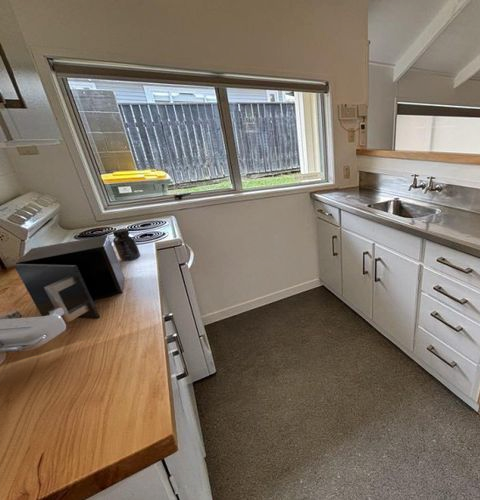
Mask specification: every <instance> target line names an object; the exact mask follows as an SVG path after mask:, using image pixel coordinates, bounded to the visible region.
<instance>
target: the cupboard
mask: <svg viewBox="0 0 480 500" xmlns="http://www.w3.org/2000/svg"><path fill="white" fill-rule="evenodd" d="M15 264H46V265H77V267H78V270H79V272H80V274H81V276H82V278H83V281H84V283H85V285H86V287H87V289H88V291H89V294H90V296H91V298H92V300H93V302H95V301H99V300H103V299H107V298H110V297H114V296H118V295H121V294H124V287H125V279H126V277H125V275H124V272H123V269H122V267H121V265H120V262H119V259H118V256H117V254H116V252H115V249H114V245H113V244H112V241H111V238H110V236H109V235H108V234H106V235H102V236H96V237H95V236H94V237H90V238H84V239H78V240H72V241H67V242H61V243H56V244H48V245H44V246H38V247H33V248H30V249H29V250H28V251H27V252H26V253H25V254H24V255H22V256H21V258H19V260H18V261H16V263H15Z"/></svg>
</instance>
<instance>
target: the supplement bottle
mask: <svg viewBox="0 0 480 500" xmlns="http://www.w3.org/2000/svg"><path fill="white" fill-rule="evenodd" d="M112 234H113V237H114V238H113V239H112V242H113V246H114V247H115V250H116V252H117V256H118V257H119V259H120V261H122V262H128V261H127V260H129V261H133V260H136V259H138V258H140V257H141V253H140V250H139V247H138V243H137V242H136V238H135V237H134V236H133V235H132V234H130V231H129V229H128V228H119V229H115V230H113V231H112ZM135 258H136V259H135ZM132 259H133V260H132Z"/></svg>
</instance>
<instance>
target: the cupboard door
mask: <svg viewBox="0 0 480 500" xmlns="http://www.w3.org/2000/svg"><path fill="white" fill-rule="evenodd" d="M13 267H14V269H15V271H16V273H17V274H18V277H19V278H20V280H21V281H22V283H23V285H24V287H25V289H26V291H27V292H28V295H29V296H30V298H31V299H32V302H33V303H34V305H35V307H36V308H37V310H38V312H39V314H40V316H46V315H50V314H49V311H50V310H53V309H54V308H62V309H63V311H64V314H63V315H62V316H61V317H62V319H63V320H64V322H65V324H67V323H70V322H72V321H73V320H75V319H78V318H79V319H93V320H94V319H95V320H97V319H101V316H100V313H99V311H98V308H97V307H96V305H95V303H94V302H95V301H93V300H92V298H91V296H90V294H89V291H88V289H87V287H86V285H85V283H84V281H83V278H82V276H81V274H80V272H79V270H78V267H77V265H46V264H16V263H15V264H13Z"/></svg>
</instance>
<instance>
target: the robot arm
mask: <svg viewBox="0 0 480 500" xmlns="http://www.w3.org/2000/svg"><path fill="white" fill-rule="evenodd" d="M49 314H50V315H46V316H41V315H40V316H29V317H28V316H27V317H22V313H21V311H19V310H12V311H9V312H7V313H5V314H3V315H0V365H1V364H2V363H4V361H5V360H6V357H7V354H8V353H20V352H28V351H32V350H35V349H37V348H40V347H42V346H44V345H46V344H47V343H49V342H50V341H52V340H53V339H55V338H56V337H58V336H60V335H61V334H62V333H63V332H65V331H66V330H67V323H65V322H64V320H63V319H62V317H61V316H62V315H63V314H64V311H63V309H62V308H54V309H53V310H50V311H49Z"/></svg>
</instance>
